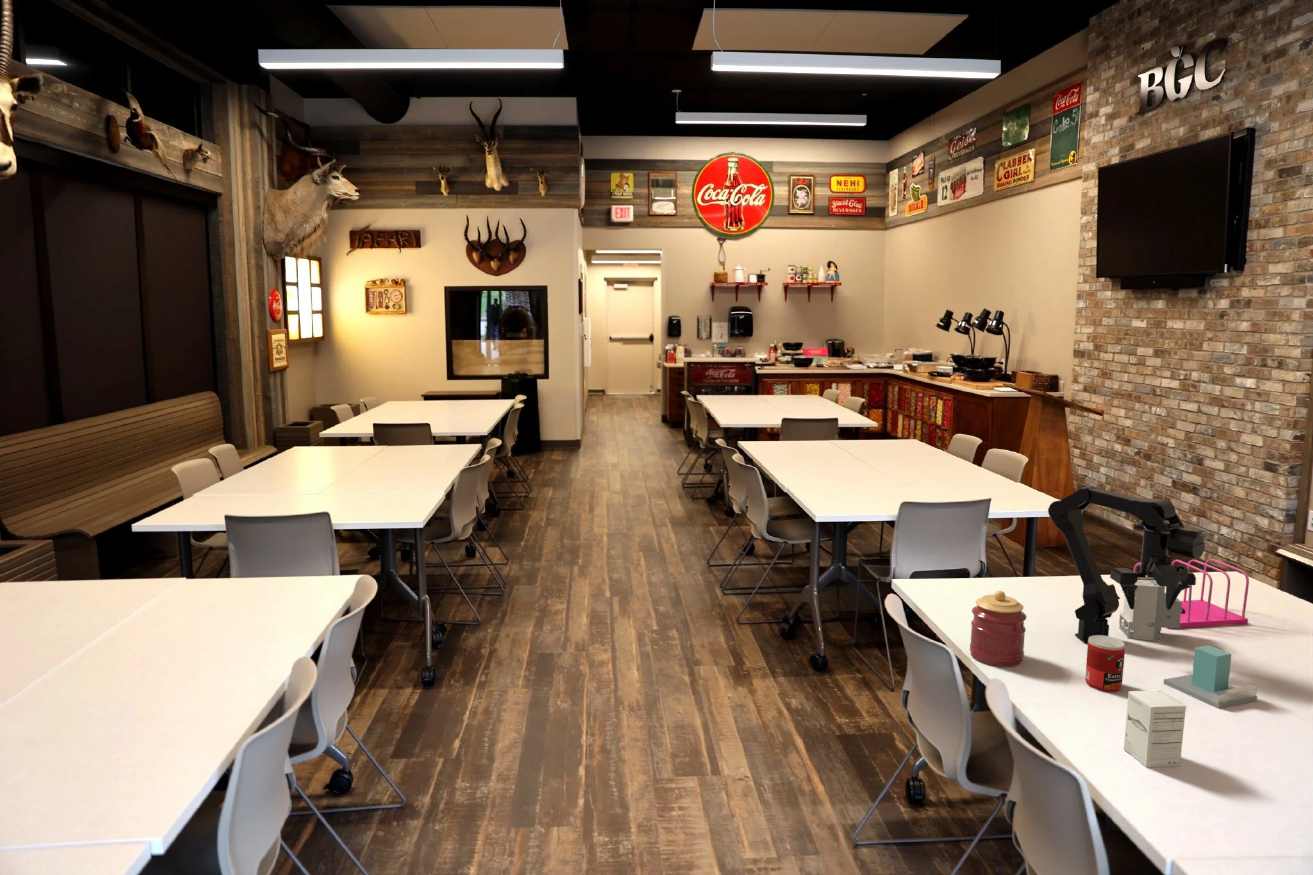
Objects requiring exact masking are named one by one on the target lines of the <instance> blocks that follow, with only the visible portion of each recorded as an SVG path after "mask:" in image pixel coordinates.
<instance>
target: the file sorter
mask: <svg viewBox="0 0 1313 875" xmlns="http://www.w3.org/2000/svg"><path fill="white" fill-rule="evenodd" d="M1211 561H1212V562H1215V563H1217V564H1220V565H1223V566H1225V567H1227V568H1230V569H1232V570H1234V571H1238V572H1239V573H1242V574H1243V575H1244V578H1245V589H1244V596H1243V597H1244V598H1243V604H1242V610H1241V611H1242V612H1241V615H1240V614H1238V613H1235V612H1232V611H1230V610H1228V606H1229V598H1230V591H1231V589H1230V588H1231V578H1230V575H1229V574H1228V573H1227V572H1226V571H1224V570H1222V569H1219V568H1217V567H1215V566H1213V565H1210V564H1209V562H1211ZM1176 562H1177V563H1180V564H1182V565H1184V566H1186V568H1187V569H1188V571H1189V572H1190V568H1191V569H1193V570H1196V571H1198V572H1200V573H1202V583H1201V592H1200V598H1199V599H1192V595H1193V594H1192V593H1193V592H1192V590H1193V585H1189V586H1190V587H1189V588H1186V589H1184V590H1183V600H1180V601H1181V602H1182V608H1183V609H1184V610H1185V614H1181V618H1180V628H1179V629H1184V628H1199V627H1201V628H1203V627H1205V628H1206V627H1221V626H1238V625H1241V626H1242V625H1249V623H1248V622H1249V619H1248V617H1247V618H1246V617H1245V615H1246V610H1247V608H1246V607H1247V601H1248V593H1249V586H1250V585H1249V584H1250V578H1249V575H1248V574H1247V572H1245V571H1244V570H1242V569H1240V568H1238V567H1236V566H1234V565H1231V564H1227V563H1225V562H1222V561H1220V560H1217V559H1214V558H1208V559H1207V560H1206V561H1205V562H1203V561H1201V560H1198V559H1191V560H1189V561H1188V562H1185V561H1183V560H1180V559H1174V560H1173V561H1171V564H1172V566H1175V564H1176ZM1192 562H1195V563H1198V564H1200V565H1202V566H1203V569H1201V568H1198V567H1197V566H1194V565H1191V564H1192ZM1138 566H1141V562H1137V563H1136V564H1135V565H1134V567H1133V570H1132V571H1133V572H1137V569H1138ZM1207 568H1210V569H1213V570H1214V571H1217V572H1220V573H1221V574H1223V575H1224V576H1225V578H1226V580H1227V581H1226V582H1227V585H1226V594H1225V603H1224V608H1223V607H1222V606H1219V605H1216V604H1214V603H1211V601H1212V593H1213V583H1214V582H1213V581H1214V580H1213V578H1212V576H1211V574H1209V572H1207ZM1206 577H1208V580H1209V589H1208V596H1207V600H1204V594H1205V583H1206ZM1187 592H1188V593H1187ZM1187 594H1188V599H1187ZM1168 629H1172V628H1168Z"/></svg>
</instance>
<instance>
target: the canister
mask: <svg viewBox="0 0 1313 875" xmlns="http://www.w3.org/2000/svg"><path fill="white" fill-rule="evenodd" d="M1023 610H1024V605H1023V604H1022V603H1020V602H1019V601H1018V600H1017V599H1015V598H1013V597H1012V596H1011V597H1010V596H1007V595H1006V594H1005V592H1004V591H1002V590H996V592H995V593H994V594H986V595H982V597H979V598H977V599H976V600H975V606H974V607H972V609H971V613H972V614H973V619H972V620H971V622H970V623H971V630H970V634H971V635H970V643H969V651H970V656H971V657H972V658H973V659H974V660H976V661H978V662H981V663H983V664H986V665H991V666H994V667H995V666H996V667H1014V666H1015V667H1016V666H1018V665H1020V664H1022V663H1023V660H1024V657H1025V650H1024V648H1025V632H1026V631H1027V629H1026V627H1025V621H1026V620H1027V614H1026V613H1025V612H1024V611H1023Z"/></svg>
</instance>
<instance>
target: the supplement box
mask: <svg viewBox="0 0 1313 875" xmlns="http://www.w3.org/2000/svg"><path fill="white" fill-rule="evenodd" d="M1127 696H1128V698H1127V708H1126V720H1125V729H1124V738H1123V739H1124V740H1123V750H1124V751H1126V752H1127V753H1129V754H1130V755H1131V756H1133V757H1134V758H1135V759H1136V760H1137V761H1138V762H1140V763H1141V764H1142V765H1143V766H1145V768H1162V767H1163V768H1166V767H1180V766H1181V760H1182V750H1183V749H1182V747H1183V740H1184V729H1185V718H1186V709H1187V706H1186V705H1185V704H1183V703H1181V702H1180V701H1179V700H1176V699H1175V698H1174V697H1172V696H1171V695H1169V694H1168V693H1166V692H1165V691H1163V690H1162V689H1153V690H1147V689H1146V690H1133V691H1132V690H1131V691H1128V695H1127Z"/></svg>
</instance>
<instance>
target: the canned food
mask: <svg viewBox="0 0 1313 875" xmlns="http://www.w3.org/2000/svg"><path fill="white" fill-rule="evenodd" d="M1086 651H1087V652H1086V663H1085V665H1086V666H1085V677H1084V678H1085V679H1084V680H1085V683H1086V685H1088V686H1089V687H1090V688H1092V689H1094V688H1095V689H1094V690H1097V691H1100V690H1101V691H1102V692H1106V693H1107V692H1108V693H1114V692H1115V693H1116V692H1119V691H1120V690H1121V689H1122V686H1123V678H1124V666H1125V657H1126V656H1125V654H1126V643H1125V642H1124V641H1123V640H1121V639H1118V638H1116V637H1113V636H1110V635H1108V636H1103V635H1094V636H1090V637H1089V639H1088V644H1087V650H1086ZM1101 691H1100V692H1101Z"/></svg>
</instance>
